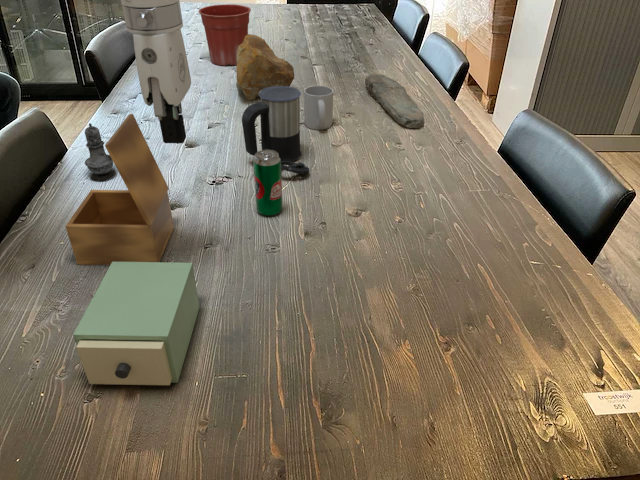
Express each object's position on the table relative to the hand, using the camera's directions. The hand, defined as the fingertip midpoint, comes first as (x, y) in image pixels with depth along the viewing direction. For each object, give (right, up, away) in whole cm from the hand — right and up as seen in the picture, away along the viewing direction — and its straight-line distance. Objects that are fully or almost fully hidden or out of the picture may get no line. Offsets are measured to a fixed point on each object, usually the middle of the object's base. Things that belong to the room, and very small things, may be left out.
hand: (175, 140), depth 84 cm
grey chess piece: (-24, -2, +32) cm, 40 cm away
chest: (-12, -16, +12) cm, 23 cm away
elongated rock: (+43, +22, +67) cm, 82 cm away
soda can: (+13, -10, +22) cm, 27 cm away
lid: (-7, -4, +3) cm, 8 cm away
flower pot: (-8, +45, +97) cm, 107 cm away
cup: (+22, +13, +54) cm, 60 cm away
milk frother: (+15, +2, +38) cm, 41 cm away
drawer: (-2, -30, -9) cm, 32 cm away
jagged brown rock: (+7, +27, +74) cm, 79 cm away
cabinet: (-2, -30, -7) cm, 31 cm away
